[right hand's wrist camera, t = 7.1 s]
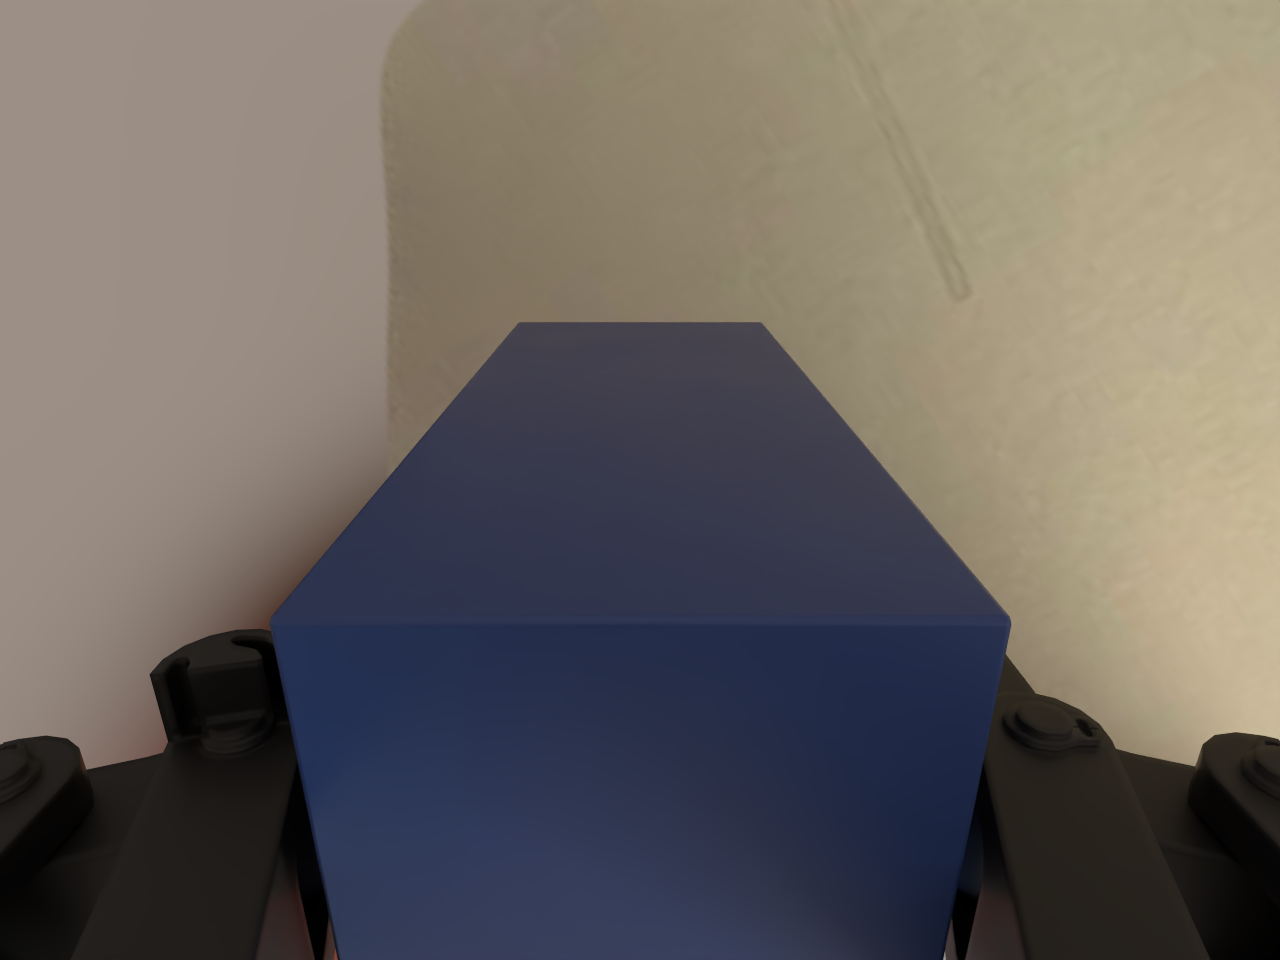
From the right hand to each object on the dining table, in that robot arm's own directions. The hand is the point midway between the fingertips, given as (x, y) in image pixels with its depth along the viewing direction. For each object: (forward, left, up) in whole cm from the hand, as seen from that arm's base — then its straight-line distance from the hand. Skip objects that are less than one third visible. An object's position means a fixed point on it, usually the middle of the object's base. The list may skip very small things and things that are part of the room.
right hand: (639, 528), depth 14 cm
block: (0, 0, -3) cm, 3 cm away
